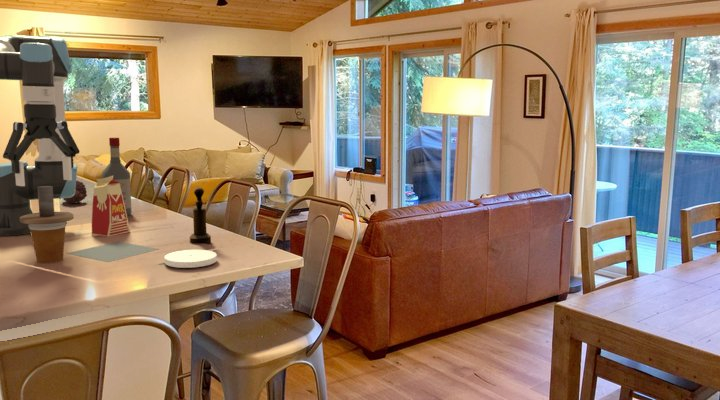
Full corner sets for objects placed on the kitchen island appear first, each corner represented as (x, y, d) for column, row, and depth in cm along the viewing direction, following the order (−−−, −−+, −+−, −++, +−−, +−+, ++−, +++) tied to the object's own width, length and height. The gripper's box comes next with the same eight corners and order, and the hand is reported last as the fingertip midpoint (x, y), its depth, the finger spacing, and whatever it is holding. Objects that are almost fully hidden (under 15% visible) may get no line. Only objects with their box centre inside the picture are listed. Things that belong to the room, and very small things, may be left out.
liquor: (132, 215, 235) (129, 138, 230) (108, 217, 230) (104, 138, 225) (127, 211, 242) (123, 137, 237) (102, 213, 237) (99, 137, 232)
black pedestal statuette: (191, 240, 194) (190, 185, 191) (212, 240, 195) (211, 185, 192) (187, 245, 187) (186, 188, 185) (209, 245, 188) (207, 188, 185)
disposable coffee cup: (53, 267, 161) (50, 223, 159) (22, 265, 162) (19, 221, 161) (76, 259, 170) (74, 217, 168) (47, 256, 172) (44, 215, 170)
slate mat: (66, 255, 174) (66, 253, 173) (118, 243, 189) (118, 241, 189) (108, 264, 165) (108, 262, 165) (159, 250, 180) (159, 248, 180)
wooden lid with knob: (9, 220, 162) (6, 187, 160) (54, 213, 173) (52, 182, 171) (39, 226, 155) (37, 191, 154) (83, 218, 167) (82, 186, 165)
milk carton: (130, 233, 204) (127, 174, 200) (108, 238, 195) (105, 177, 192) (110, 230, 207) (107, 172, 204) (88, 235, 199) (85, 175, 196)
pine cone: (56, 201, 265) (55, 178, 263) (80, 199, 271) (79, 177, 269) (67, 206, 251) (65, 182, 250) (92, 204, 258) (90, 181, 256)
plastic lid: (167, 273, 158) (167, 264, 158) (162, 260, 171) (161, 251, 170) (221, 268, 164) (221, 259, 163) (212, 256, 176) (212, 248, 176)
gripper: (0, 103, 147) (7, 189, 150) (90, 103, 168) (94, 178, 172) (-17, 102, 150) (-10, 186, 154) (73, 102, 172) (77, 176, 175)
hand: (45, 182), depth 163 cm, fingers open, 13 cm apart
